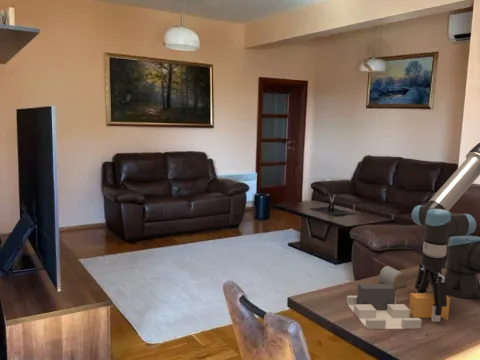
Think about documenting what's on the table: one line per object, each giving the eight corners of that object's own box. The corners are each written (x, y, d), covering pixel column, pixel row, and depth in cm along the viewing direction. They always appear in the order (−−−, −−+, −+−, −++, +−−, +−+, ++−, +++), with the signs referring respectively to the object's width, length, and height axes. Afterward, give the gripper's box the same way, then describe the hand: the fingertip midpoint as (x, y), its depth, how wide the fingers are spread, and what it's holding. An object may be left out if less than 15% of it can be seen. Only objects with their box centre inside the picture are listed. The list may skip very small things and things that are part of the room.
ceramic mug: (394, 291, 175) (396, 273, 174) (377, 284, 182) (379, 266, 181) (410, 287, 181) (412, 269, 180) (394, 281, 188) (396, 263, 187)
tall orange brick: (440, 314, 156) (442, 293, 155) (447, 320, 151) (450, 298, 150) (408, 314, 154) (410, 293, 153) (414, 320, 150) (416, 298, 149)
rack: (393, 305, 162) (394, 295, 161) (420, 331, 142) (421, 320, 142) (346, 305, 160) (346, 295, 160) (367, 331, 140) (368, 320, 140)
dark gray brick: (388, 304, 160) (390, 283, 159) (393, 310, 155) (395, 288, 154) (356, 305, 158) (358, 283, 157) (361, 310, 154) (362, 288, 153)
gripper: (408, 245, 160) (403, 303, 163) (441, 264, 139) (434, 331, 142) (428, 245, 161) (422, 303, 164) (463, 265, 139) (456, 331, 142)
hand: (427, 316), depth 153 cm, fingers open, 9 cm apart
